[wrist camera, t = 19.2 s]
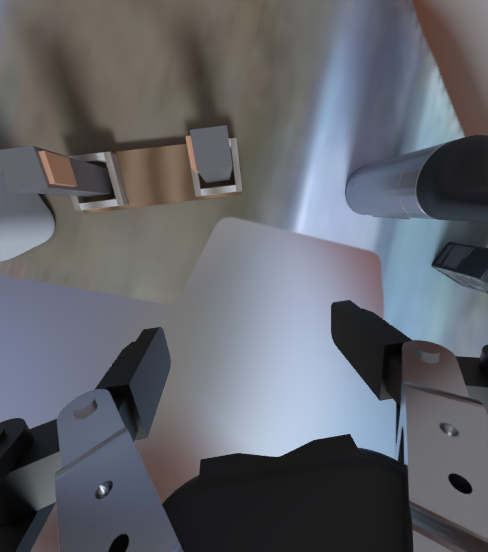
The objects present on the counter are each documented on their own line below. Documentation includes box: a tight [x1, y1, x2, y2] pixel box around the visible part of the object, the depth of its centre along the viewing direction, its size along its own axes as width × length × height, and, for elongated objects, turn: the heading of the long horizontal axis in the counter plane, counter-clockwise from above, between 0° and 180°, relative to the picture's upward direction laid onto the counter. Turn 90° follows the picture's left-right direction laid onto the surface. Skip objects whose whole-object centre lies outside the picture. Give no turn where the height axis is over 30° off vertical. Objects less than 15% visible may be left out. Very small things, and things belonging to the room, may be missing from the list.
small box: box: [432, 242, 488, 293], centre depth 46 cm, size 11×6×10 cm, turn 62°
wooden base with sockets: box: [67, 138, 242, 213], centre depth 39 cm, size 28×9×4 cm, turn 97°
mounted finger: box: [0, 146, 115, 197], centre depth 32 cm, size 5×4×16 cm
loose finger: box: [185, 125, 232, 184], centre depth 32 cm, size 5×4×16 cm
